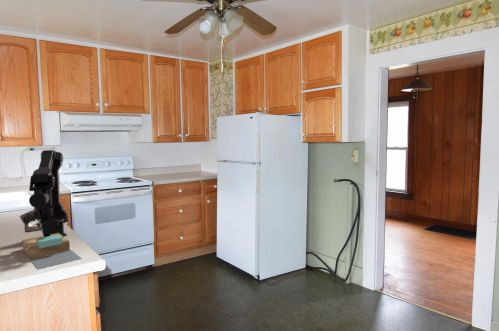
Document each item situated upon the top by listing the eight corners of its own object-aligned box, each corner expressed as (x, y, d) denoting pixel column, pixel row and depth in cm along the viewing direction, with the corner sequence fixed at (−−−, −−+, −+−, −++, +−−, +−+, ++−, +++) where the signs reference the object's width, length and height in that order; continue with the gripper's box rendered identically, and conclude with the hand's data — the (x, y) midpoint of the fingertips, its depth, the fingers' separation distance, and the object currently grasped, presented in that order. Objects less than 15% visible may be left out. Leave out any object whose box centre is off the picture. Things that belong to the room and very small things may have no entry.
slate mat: (29, 259, 137) (29, 259, 137) (71, 250, 147) (71, 250, 147) (37, 269, 127) (37, 269, 127) (81, 258, 137) (81, 258, 137)
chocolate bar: (26, 231, 173) (25, 223, 188) (26, 233, 174) (25, 225, 189) (47, 228, 178) (44, 220, 193) (47, 230, 178) (44, 222, 193)
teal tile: (36, 244, 142) (36, 238, 142) (58, 240, 147) (58, 234, 147) (40, 248, 138) (39, 242, 137) (62, 243, 143) (62, 237, 143)
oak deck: (22, 249, 149) (22, 239, 149) (59, 241, 158) (58, 232, 158) (31, 259, 137) (30, 249, 137) (69, 250, 147) (69, 241, 146)
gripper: (16, 202, 145) (19, 239, 147) (25, 209, 132) (28, 250, 133) (46, 198, 153) (49, 233, 154) (58, 205, 139) (61, 243, 141)
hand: (46, 240), depth 146 cm, fingers closed
